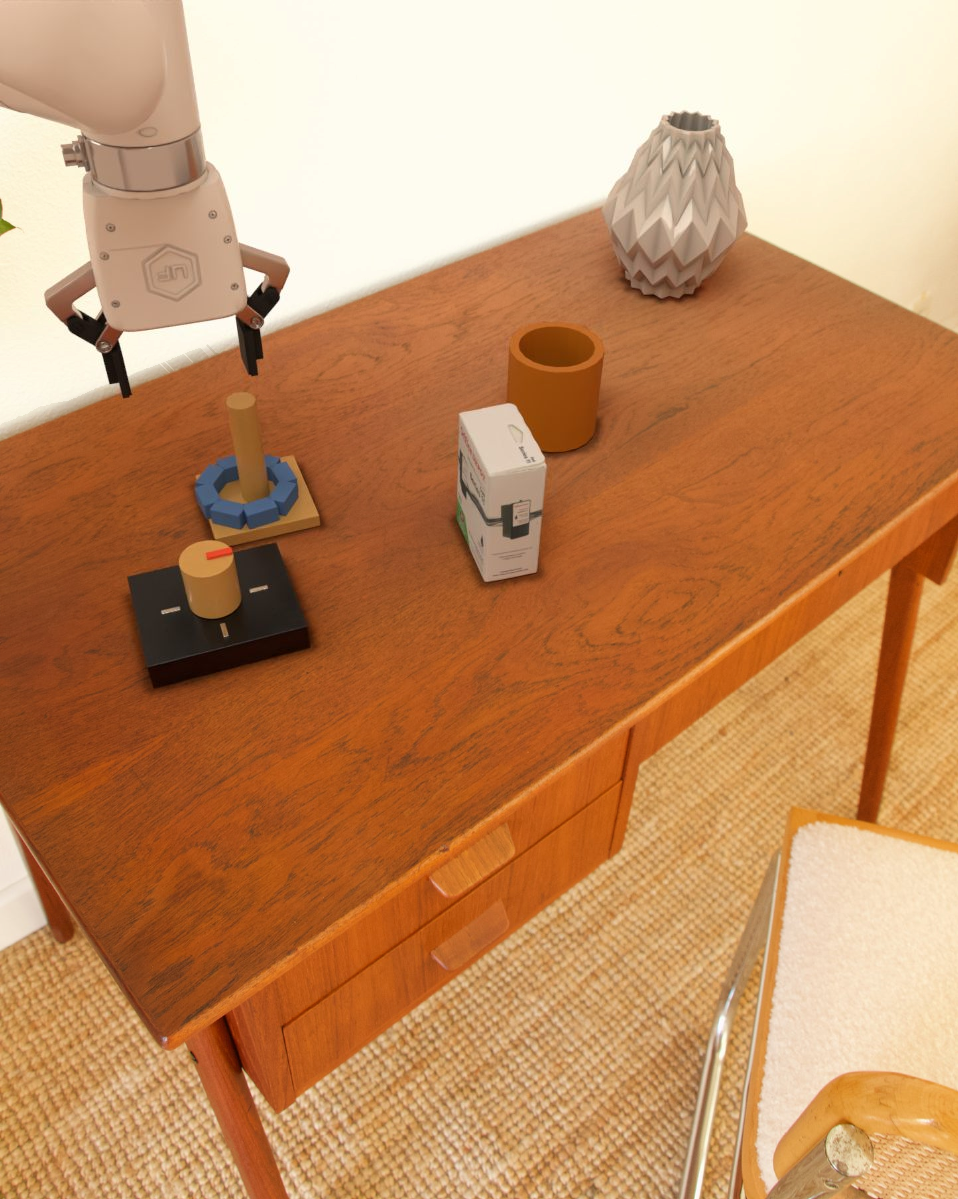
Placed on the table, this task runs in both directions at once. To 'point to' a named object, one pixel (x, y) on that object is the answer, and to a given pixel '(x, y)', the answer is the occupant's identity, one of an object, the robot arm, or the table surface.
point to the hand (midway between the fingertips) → (188, 377)
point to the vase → (676, 207)
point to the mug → (556, 382)
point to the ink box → (500, 491)
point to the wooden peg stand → (258, 478)
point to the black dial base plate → (218, 620)
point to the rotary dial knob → (210, 579)
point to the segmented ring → (249, 512)
